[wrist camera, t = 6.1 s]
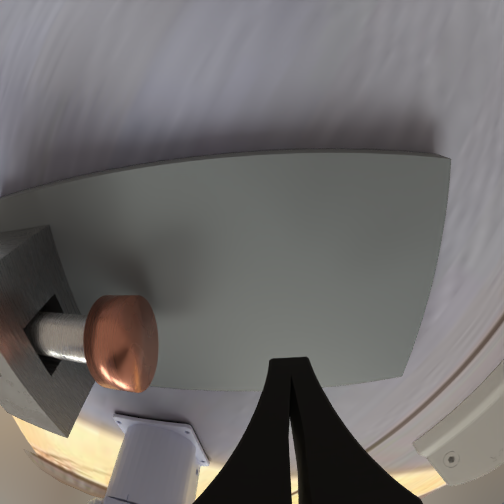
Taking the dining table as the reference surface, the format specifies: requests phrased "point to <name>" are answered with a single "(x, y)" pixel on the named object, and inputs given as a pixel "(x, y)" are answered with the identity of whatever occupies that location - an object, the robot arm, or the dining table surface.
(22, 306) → the bearing block
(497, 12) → the dining table surface
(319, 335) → the base plate
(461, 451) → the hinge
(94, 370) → the shaft
